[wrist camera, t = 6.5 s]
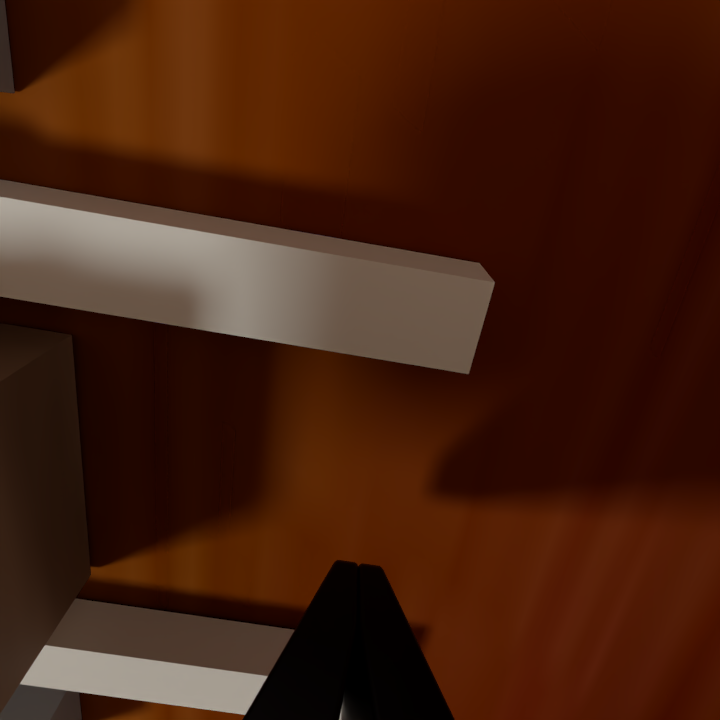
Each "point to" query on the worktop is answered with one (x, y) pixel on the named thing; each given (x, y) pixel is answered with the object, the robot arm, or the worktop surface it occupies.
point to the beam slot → (222, 315)
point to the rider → (38, 496)
